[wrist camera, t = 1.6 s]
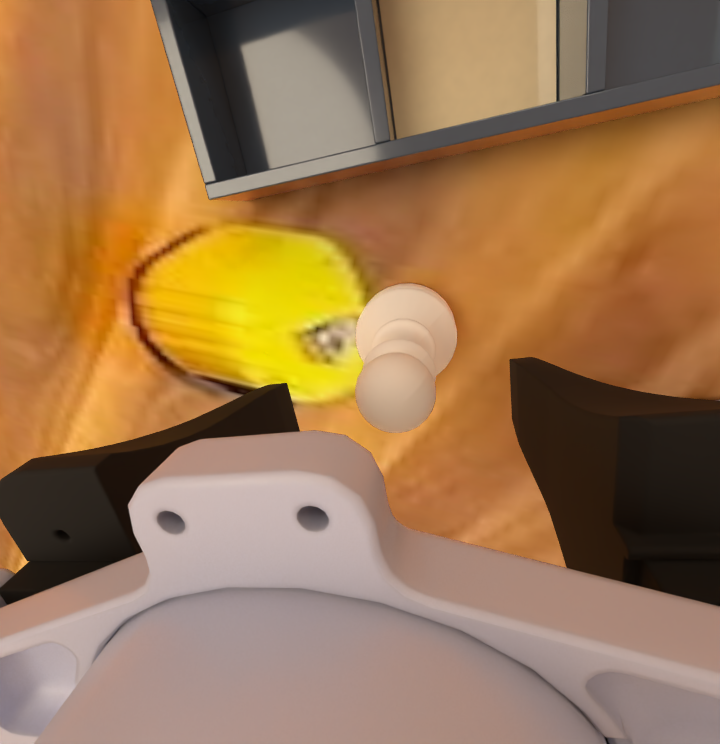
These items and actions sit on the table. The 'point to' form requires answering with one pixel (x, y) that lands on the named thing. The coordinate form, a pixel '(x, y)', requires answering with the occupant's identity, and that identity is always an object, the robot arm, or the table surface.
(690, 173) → the table surface
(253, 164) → the divided storage box
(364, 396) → the chess pawn
